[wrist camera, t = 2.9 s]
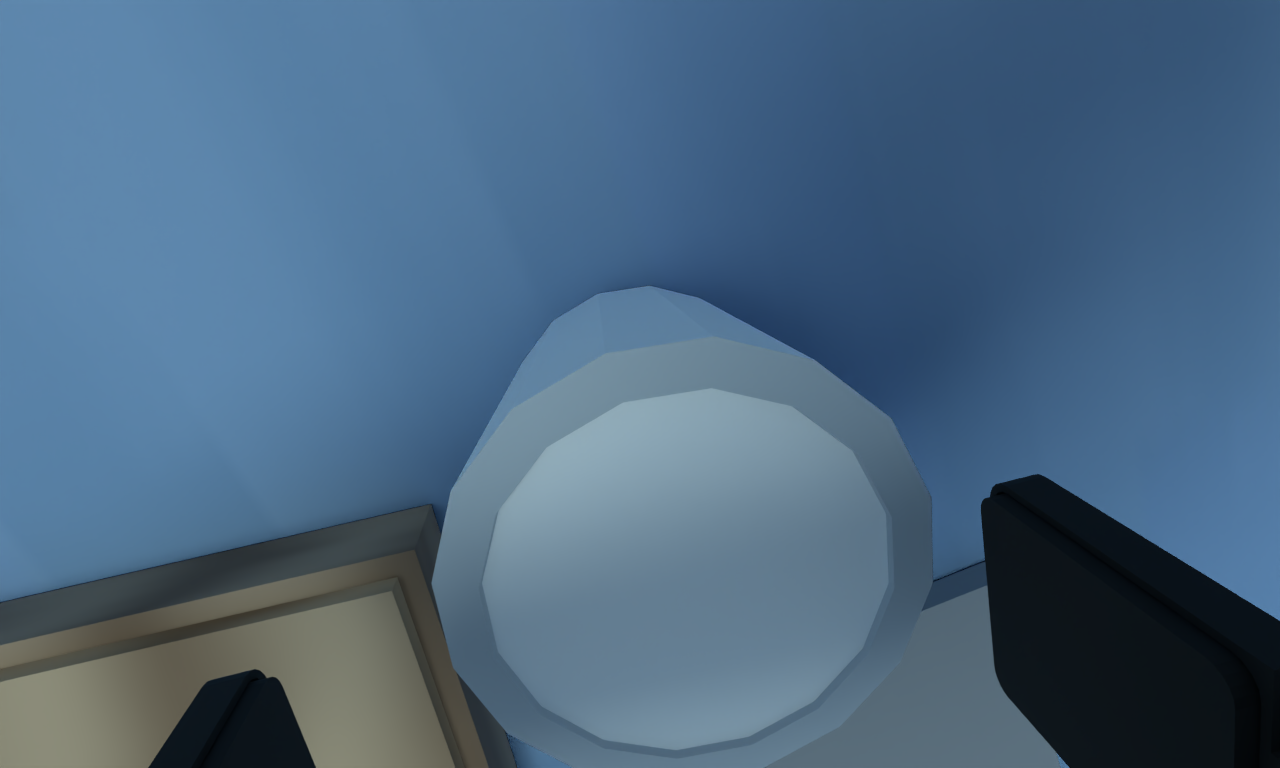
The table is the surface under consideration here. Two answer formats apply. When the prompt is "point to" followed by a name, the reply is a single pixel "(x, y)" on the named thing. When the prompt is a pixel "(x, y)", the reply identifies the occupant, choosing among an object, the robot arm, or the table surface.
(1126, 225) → the table surface
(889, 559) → the white cup
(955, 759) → the slate coaster
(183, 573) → the stand
